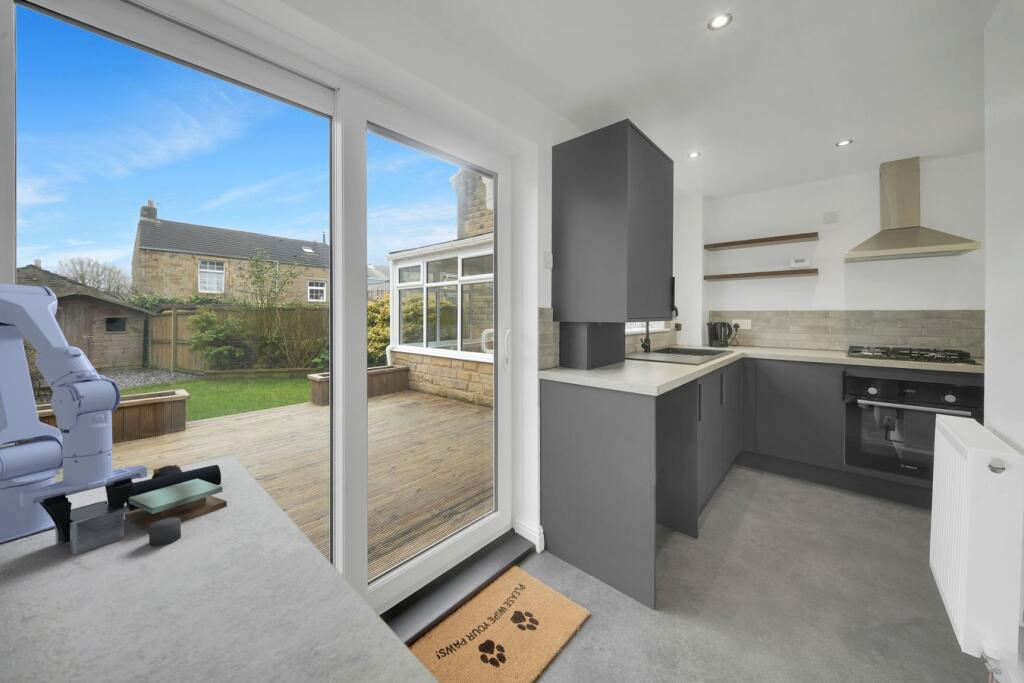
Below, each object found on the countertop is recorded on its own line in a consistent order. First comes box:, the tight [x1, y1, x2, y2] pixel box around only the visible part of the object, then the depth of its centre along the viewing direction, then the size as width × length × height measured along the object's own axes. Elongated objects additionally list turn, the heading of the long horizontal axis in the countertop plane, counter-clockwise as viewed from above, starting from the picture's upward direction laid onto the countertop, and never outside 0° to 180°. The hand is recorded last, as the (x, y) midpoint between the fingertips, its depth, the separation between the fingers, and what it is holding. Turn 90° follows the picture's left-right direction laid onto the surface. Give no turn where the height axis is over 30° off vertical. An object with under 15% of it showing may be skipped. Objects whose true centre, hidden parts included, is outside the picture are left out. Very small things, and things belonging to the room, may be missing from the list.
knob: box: [148, 518, 182, 548], centre depth 66 cm, size 4×4×3 cm
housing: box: [54, 500, 125, 557], centre depth 66 cm, size 8×6×5 cm
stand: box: [124, 479, 228, 532], centre depth 77 cm, size 12×11×4 cm
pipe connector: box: [125, 464, 222, 510], centre depth 87 cm, size 12×5×15 cm
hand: (90, 532), depth 66 cm, fingers closed on housing, 5 cm apart
